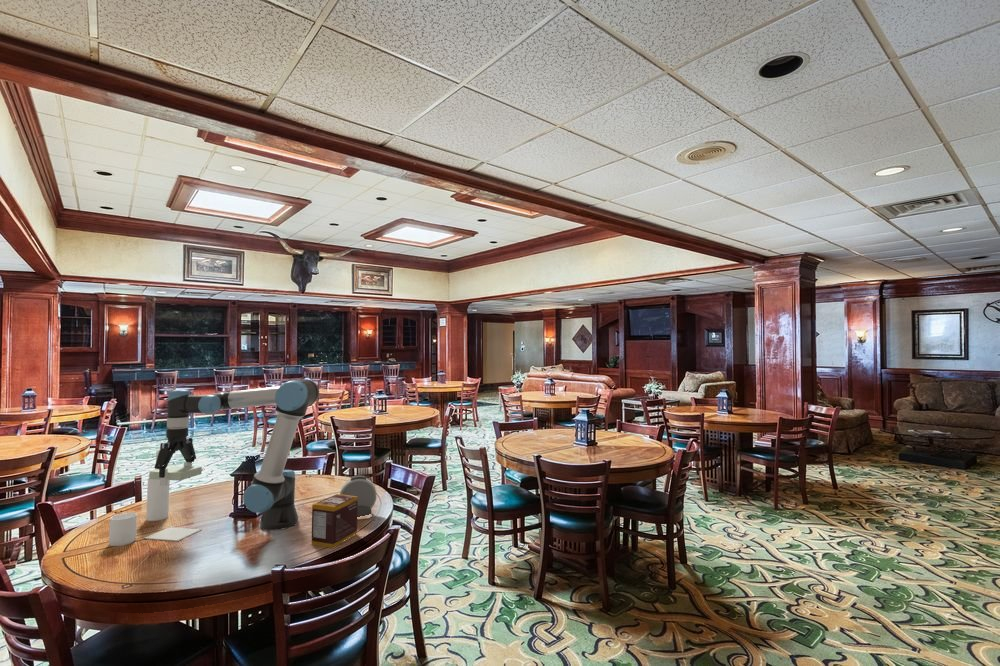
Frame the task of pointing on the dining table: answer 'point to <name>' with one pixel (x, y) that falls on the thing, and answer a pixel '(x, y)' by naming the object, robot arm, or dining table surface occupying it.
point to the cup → (122, 529)
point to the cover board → (177, 472)
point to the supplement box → (334, 520)
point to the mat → (173, 534)
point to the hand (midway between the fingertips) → (175, 481)
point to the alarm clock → (361, 493)
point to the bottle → (157, 499)
